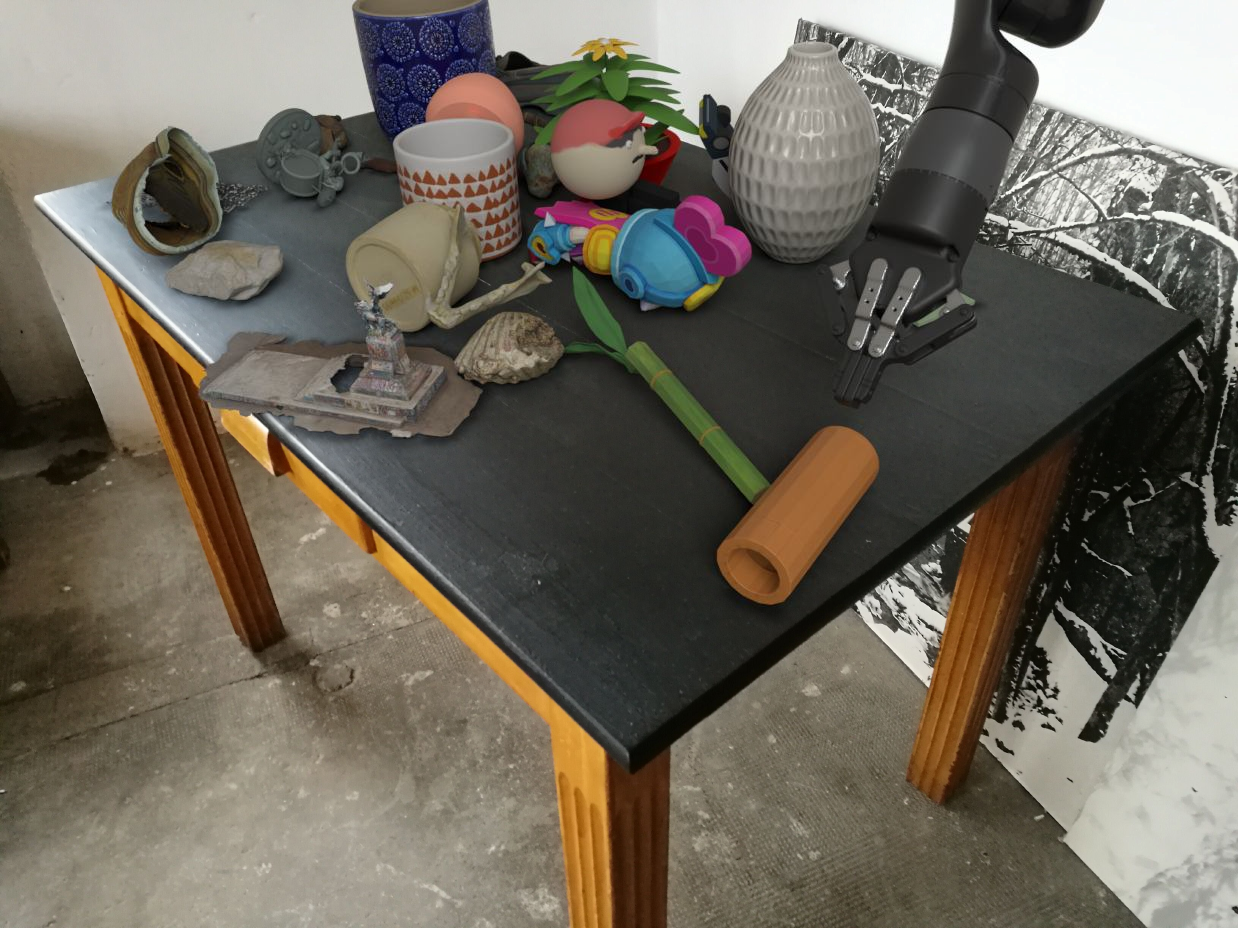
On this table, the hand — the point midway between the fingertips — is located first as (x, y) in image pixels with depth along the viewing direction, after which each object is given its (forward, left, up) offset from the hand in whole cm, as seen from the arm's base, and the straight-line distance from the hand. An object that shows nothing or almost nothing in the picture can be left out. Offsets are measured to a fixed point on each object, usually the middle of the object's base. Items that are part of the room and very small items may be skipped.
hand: (845, 404), depth 68 cm
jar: (-1, 0, -6) cm, 6 cm away
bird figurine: (-18, -80, -2) cm, 82 cm away
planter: (-3, -90, -9) cm, 91 cm away
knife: (+5, -78, -9) cm, 79 cm away
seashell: (+12, -27, -4) cm, 30 cm away
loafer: (-24, -101, -9) cm, 104 cm away
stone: (+29, -67, -6) cm, 74 cm away
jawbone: (+15, -37, -4) cm, 41 cm away
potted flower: (-14, -58, -9) cm, 60 cm away
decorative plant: (+6, -16, -9) cm, 19 cm away
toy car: (-26, -46, 0) cm, 52 cm away
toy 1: (-6, -44, 0) cm, 44 cm away
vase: (-24, -35, -9) cm, 43 cm away
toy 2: (-14, -37, -5) cm, 40 cm away
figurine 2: (+14, -103, -7) cm, 104 cm away
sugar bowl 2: (+1, -66, 0) cm, 66 cm away
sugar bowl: (+22, -46, -3) cm, 51 cm away
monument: (+29, -39, -9) cm, 49 cm away
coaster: (-28, -19, -9) cm, 35 cm away
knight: (-1, -51, -6) cm, 51 cm away
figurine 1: (+19, -92, -3) cm, 94 cm away
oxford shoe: (+33, -81, -2) cm, 88 cm away
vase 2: (+6, -60, -9) cm, 61 cm away
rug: (+33, -95, -8) cm, 101 cm away
